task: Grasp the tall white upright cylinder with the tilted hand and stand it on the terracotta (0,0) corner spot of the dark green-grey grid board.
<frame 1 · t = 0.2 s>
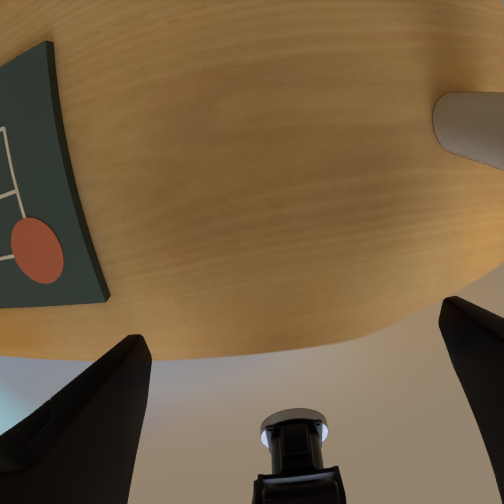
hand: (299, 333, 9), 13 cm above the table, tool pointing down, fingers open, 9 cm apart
white upright cylinder: (458, 123, 17), on the table
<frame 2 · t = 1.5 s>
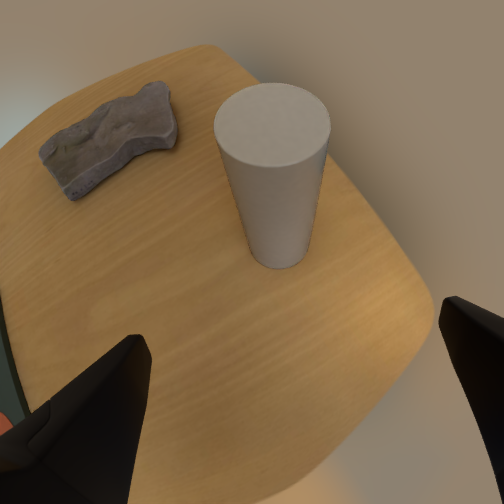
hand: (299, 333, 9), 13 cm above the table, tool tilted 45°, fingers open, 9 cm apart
white upright cylinder: (278, 239, 24), on the table
stone: (115, 146, 29), on the table
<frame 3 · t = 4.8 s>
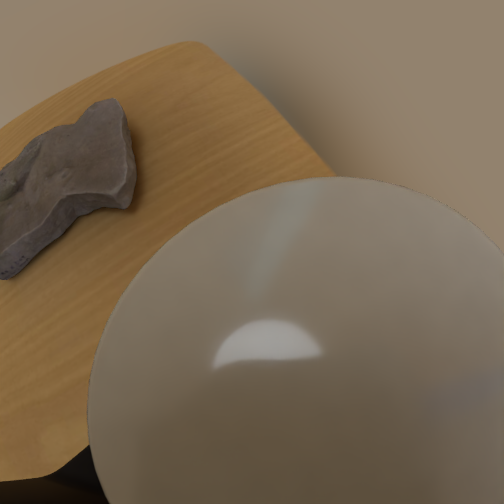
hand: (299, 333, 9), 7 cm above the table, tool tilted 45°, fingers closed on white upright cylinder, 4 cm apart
white upright cylinder: (294, 373, 14), on the table, touching gripper
stone: (57, 197, 19), on the table
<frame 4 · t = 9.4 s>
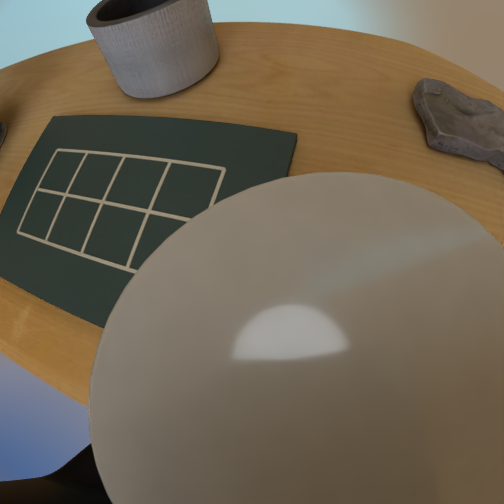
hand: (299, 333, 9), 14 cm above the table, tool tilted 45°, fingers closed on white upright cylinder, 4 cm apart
planter: (169, 68, 33), on the table
board: (108, 207, 27), on the table
white upright cylinder: (295, 372, 14), point 7 cm above the table, touching gripper
stone: (470, 136, 26), on the table
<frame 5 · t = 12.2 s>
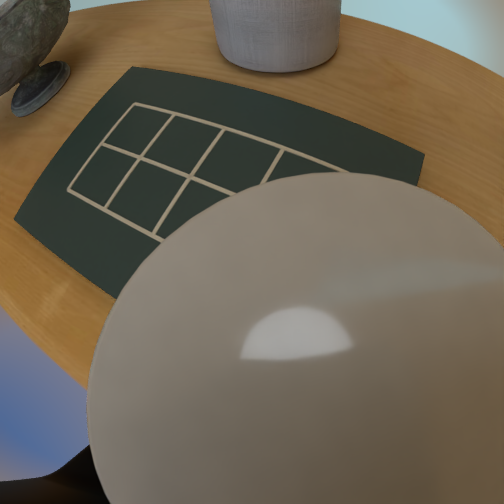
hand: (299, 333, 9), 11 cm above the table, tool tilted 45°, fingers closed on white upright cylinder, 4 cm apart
planter: (278, 45, 29), on the table
board: (193, 184, 23), on the table
white upright cylinder: (294, 372, 14), point 4 cm above the table, touching gripper
bowl: (38, 91, 32), on the table
when the fingers open (8 cm above the table, at t = 14.2 s): white upright cylinder stays where it is, resting on board.
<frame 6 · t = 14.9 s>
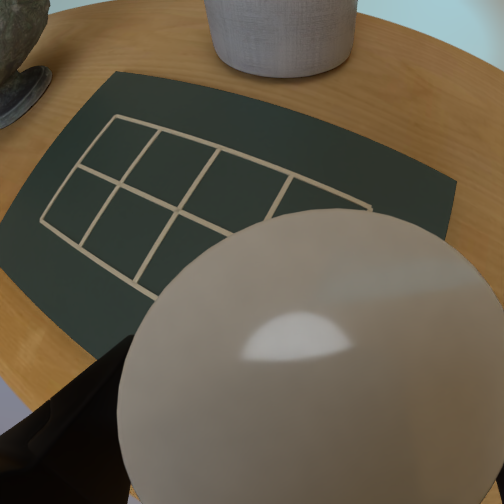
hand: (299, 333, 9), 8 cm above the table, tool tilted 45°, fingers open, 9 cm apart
planter: (283, 45, 25), on the table
board: (183, 218, 19), on the table
white upright cylinder: (295, 374, 15), point 1 cm above the table, touching board
bowl: (19, 99, 28), on the table
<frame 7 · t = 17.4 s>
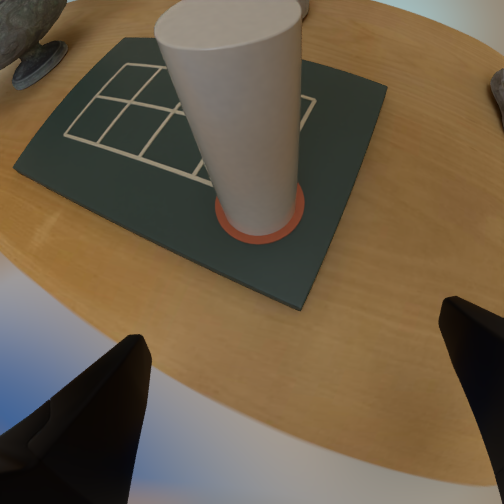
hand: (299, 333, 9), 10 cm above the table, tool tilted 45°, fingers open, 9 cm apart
board: (177, 119, 24), on the table
white upright cylinder: (259, 201, 20), point 1 cm above the table, touching board
bowl: (38, 67, 33), on the table
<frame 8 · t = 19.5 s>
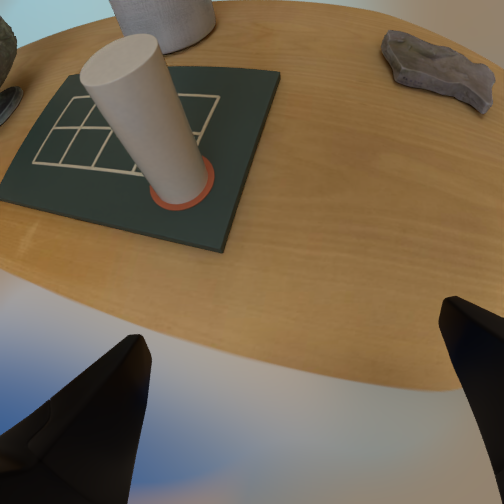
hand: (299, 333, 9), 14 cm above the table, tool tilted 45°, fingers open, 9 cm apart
planter: (173, 35, 36), on the table
board: (117, 134, 30), on the table
white upright cylinder: (181, 180, 25), point 1 cm above the table, touching board
bowl: (0, 112, 37), on the table
stone: (436, 79, 29), on the table
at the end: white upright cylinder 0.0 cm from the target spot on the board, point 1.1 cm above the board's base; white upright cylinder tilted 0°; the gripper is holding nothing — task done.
